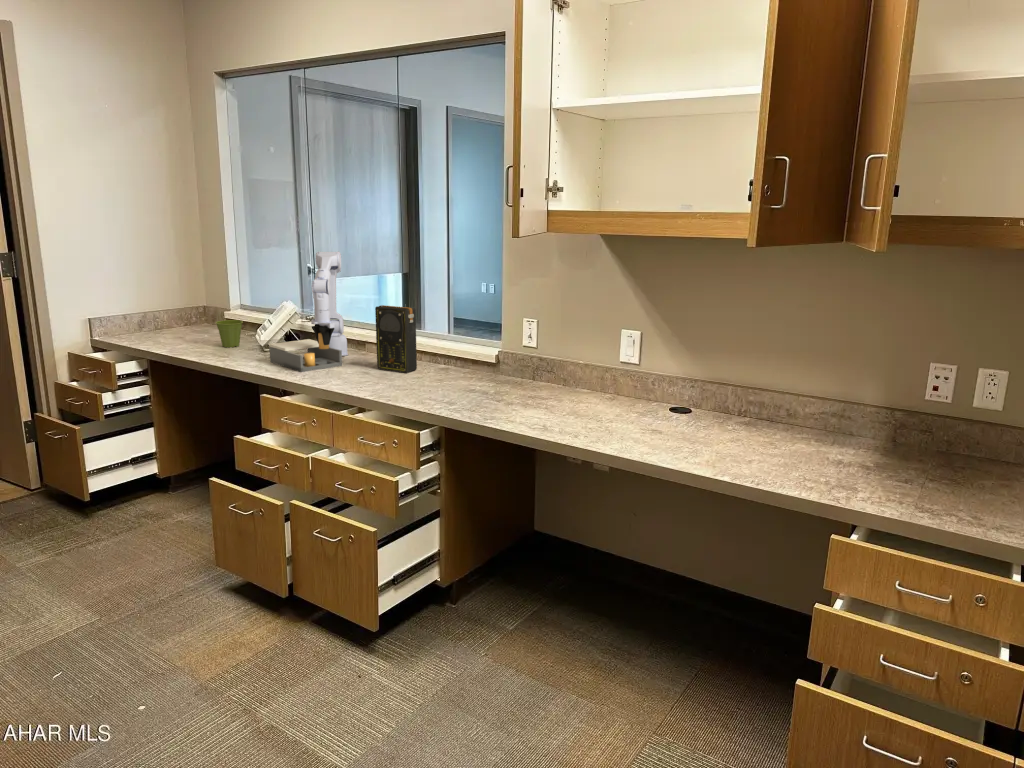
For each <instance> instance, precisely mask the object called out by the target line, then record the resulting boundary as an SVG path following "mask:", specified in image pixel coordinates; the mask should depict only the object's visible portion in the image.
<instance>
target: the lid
mask: <svg viewBox="0 0 1024 768" xmlns="http://www.w3.org/2000/svg"><path fill="white" fill-rule="evenodd" d="M268 347H273V348H276V349H280V350H283V351H288V352H291V351H296V350H297V351H298V350H307V349H308V348H314V347H319V344H318V341H317V340H313V339H310V338H307V339H301V340H300V339H298V340H291V341H284V342H282V341H281V342H274V343H268Z"/></svg>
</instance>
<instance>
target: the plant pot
mask: <svg viewBox="0 0 1024 768" xmlns="http://www.w3.org/2000/svg"><path fill="white" fill-rule="evenodd" d="M243 323H244V321H243V320H239V319H238V320H237V319H230V320H229V319H227V320H220V321H215V323H214V324H216V326H217V330H218V333H219V337H220V341H221V345H222V347H223V346H224V348H227V347H228V348H230V347H232V348H237V346H238V347H239V346H240V342H241V333H242V332H241V331H242V327H243ZM235 346H236V347H235Z"/></svg>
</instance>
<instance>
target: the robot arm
mask: <svg viewBox="0 0 1024 768" xmlns="http://www.w3.org/2000/svg"><path fill="white" fill-rule="evenodd" d="M341 255H342V254H341V252H340V251H319V250H317V251H316V254H315V264H316V267H317V271H316V273H315V277H314V280H312V281H311V291H312V293H311V294H312V299H313V308H314V318H312V319H311V320H310V321H311V329H312V330H313V332H314V334H315V335H314V336H315V338H316V341H318V344H319V338H318V333H322V337H323V343H324V345H329V347H330V348H334V349H338V350H342V357H343V356H349V353H348V340H347V336H346V335H345V334H344V330H345V329H344V327H345V326H344V318H343V316H342V315H341V314H340V313H338V312H337V276H338V274H339V273H340V272H341V271H342V256H341Z"/></svg>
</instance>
